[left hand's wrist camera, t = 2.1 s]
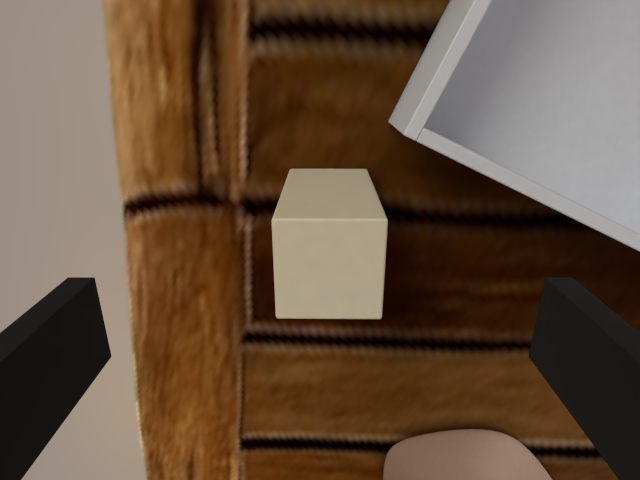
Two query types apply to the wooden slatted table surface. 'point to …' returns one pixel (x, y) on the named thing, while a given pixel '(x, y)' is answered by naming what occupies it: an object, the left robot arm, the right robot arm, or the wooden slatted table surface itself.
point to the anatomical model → (462, 457)
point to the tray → (538, 103)
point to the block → (329, 246)
